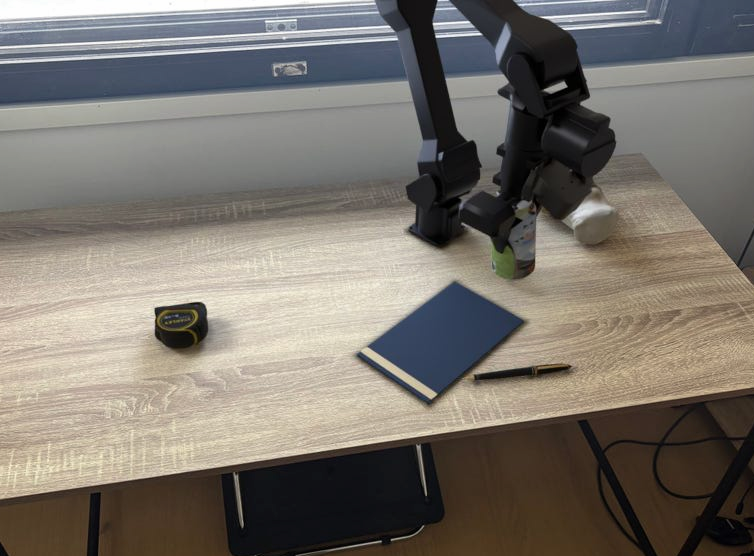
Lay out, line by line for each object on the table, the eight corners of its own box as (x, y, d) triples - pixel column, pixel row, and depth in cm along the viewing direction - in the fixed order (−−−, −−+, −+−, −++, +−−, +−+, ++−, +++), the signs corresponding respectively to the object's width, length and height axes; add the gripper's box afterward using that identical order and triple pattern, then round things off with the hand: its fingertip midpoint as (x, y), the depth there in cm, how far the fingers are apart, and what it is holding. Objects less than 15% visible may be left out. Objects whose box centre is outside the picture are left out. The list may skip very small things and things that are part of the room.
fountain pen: (461, 386, 90) (462, 377, 89) (459, 379, 91) (460, 370, 90) (573, 373, 92) (575, 364, 91) (569, 366, 92) (572, 358, 91)
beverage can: (532, 288, 101) (548, 216, 92) (479, 281, 102) (490, 209, 93) (534, 261, 105) (549, 189, 97) (483, 255, 106) (494, 183, 98)
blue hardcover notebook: (356, 356, 94) (356, 353, 94) (454, 283, 104) (454, 280, 104) (427, 404, 88) (428, 402, 88) (523, 322, 98) (524, 320, 98)
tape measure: (209, 316, 99) (204, 295, 97) (210, 351, 95) (206, 330, 92) (158, 322, 99) (152, 301, 96) (157, 358, 94) (150, 337, 91)
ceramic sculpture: (581, 208, 101) (530, 160, 112) (570, 259, 107) (523, 210, 118) (647, 195, 104) (591, 149, 114) (633, 246, 110) (581, 198, 120)
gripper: (540, 197, 80) (520, 303, 91) (627, 134, 90) (598, 238, 101) (461, 160, 85) (450, 265, 97) (550, 105, 95) (531, 206, 106)
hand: (511, 243), depth 100 cm, fingers closed on beverage can, 5 cm apart
